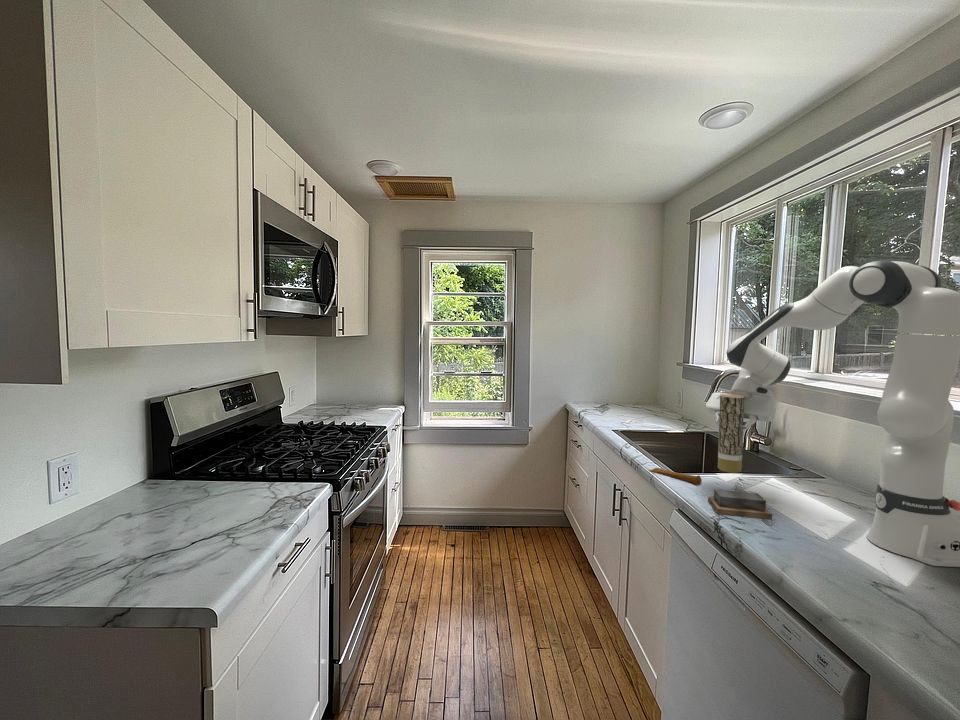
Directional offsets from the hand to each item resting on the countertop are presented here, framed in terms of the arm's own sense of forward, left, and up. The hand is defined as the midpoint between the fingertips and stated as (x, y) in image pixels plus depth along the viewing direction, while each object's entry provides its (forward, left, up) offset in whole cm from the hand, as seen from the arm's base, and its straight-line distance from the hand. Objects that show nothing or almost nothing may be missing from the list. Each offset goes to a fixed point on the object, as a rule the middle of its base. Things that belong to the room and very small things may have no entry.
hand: (731, 425), depth 140 cm
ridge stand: (+1, +14, -23) cm, 26 cm away
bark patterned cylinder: (0, 0, -15) cm, 15 cm away
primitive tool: (+14, -13, -23) cm, 30 cm away
